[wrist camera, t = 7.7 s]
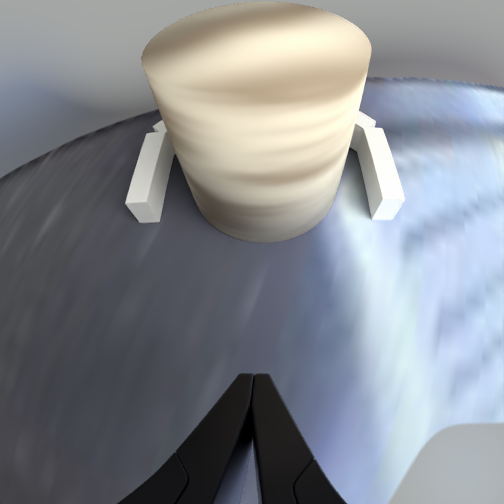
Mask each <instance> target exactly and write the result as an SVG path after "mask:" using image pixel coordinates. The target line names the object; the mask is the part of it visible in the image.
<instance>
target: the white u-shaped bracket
mask: <svg viewBox="0 0 504 504" xmlns="http://www.w3.org/2000/svg"><path fill="white" fill-rule="evenodd" d="M375 123H376V121H375V120H373V119H371V118H370V117H368V116H367V115H365V114H363V113H362V112H360V111H358V115H357V119H356V123H355V127H354V131H353V135H352V138H351V142H350V146H349V147H351V148H352V149H354V150H355V151H357V154H358V158H359V162H360V166H361V171H362V175H363V179H364V184H365V188H366V193H367V198H368V203H369V208H370V213H371V218H372V220H393V218H394V217H395V215H396V213H397V212H398V210H399V209H400V207H401V206H402V204H403V202H404V201H405V197H404V194H403V190H402V187H401V183H400V180H399V176H398V173H397V170H396V167H395V164H394V160H393V157H392V154H391V151H390V149H389V146H388V143H387V140H386V137H385V134H384V132H383V129H382V128H374V127H375ZM153 128H154V131H155V132H153V133H147V134H146V137H145V140H144V143H143V146H142V149H141V152H140V155H139V158H138V161H137V164H136V168H135V171H134V174H133V178H132V181H131V185H130V188H129V192H128V195H127V199H126V203H125V204H126V205H127V206H128V208H129V209H130V210H131V212H132V213H133V214H134V216H135V217H136V218H137V220H138V221H139V222H140V223H150V222H160V218H161V213H162V208H163V203H164V198H165V193H166V188H167V183H168V179H169V174H170V170H171V166H172V161H173V157H174V155H175V154H176V152H175V150H174V147H173V145H172V142H171V140H170V137H169V135H168V132H167V129H166V127H165V124H164V122H163V120H161V121H160V122H158V123H157V124H155V125H154V126H153Z"/></svg>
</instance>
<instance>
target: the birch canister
mask: <svg viewBox="0 0 504 504" xmlns="http://www.w3.org/2000/svg"><path fill="white" fill-rule="evenodd" d="M370 56H371V44H370V42H369V40H368V38H367V36H366V35H365V34H364V33H363V32H362V31H361V30H360V29H359V28H358V27H357V26H355V25H354V24H352V23H350V22H349V21H347V20H346V19H344V18H342V17H340V16H337V15H335V14H333V13H330V12H327V11H325V10H321V9H318V8H314V7H310V6H305V5H300V4H293V3H285V2H244V3H236V4H230V5H224V6H219V7H215V8H211V9H208V10H204V11H201V12H198V13H195V14H192V15H189V16H187V17H185V18H183V19H180V20H179V21H177V22H175V23H173V24H171V25H169V26H168V27H166V28H165V29H163V30H162V31H160V32H159V33H158V34H157V35H156V36H154V37H153V38H152V39H151V40H150V42H149V43H148V44H147V45H146V47H145V49H144V51H143V54H142V57H141V59H142V66H143V68H144V71H145V74H146V77H147V79H148V82H149V85H150V87H151V90H152V93H153V95H154V98H155V101H156V103H157V106H158V109H159V111H160V114H161V116H162V119H163V122H164V124H165V127H166V129H167V132H168V135H169V137H170V140H171V142H172V145H173V147H174V150H175V152H176V155H177V157H178V160H179V162H180V165H181V167H182V170H183V172H184V175H185V177H186V180H187V182H188V185H189V187H190V189H191V192H192V194H193V197H194V199H195V202H196V204H197V206H198V208H199V210H200V212H201V213H202V215H203V216H204V218H205V219H206V220H207V221H208V222H209V223H210V224H211V225H212V226H214V227H215V228H216V229H217V230H219V231H221V232H222V233H224V234H226V235H228V236H231V237H233V238H236V239H239V240H243V241H248V242H254V243H273V242H280V241H285V240H289V239H292V238H295V237H297V236H300V235H302V234H304V233H306V232H307V231H309V230H311V229H312V228H314V227H315V226H316V225H317V224H318V223H320V222H321V221H322V220H323V218H324V217H325V216H326V215H327V213H328V212H329V210H330V209H331V207H332V205H333V202H334V200H335V196H336V193H337V189H338V186H339V182H340V179H341V175H342V172H343V168H344V165H345V161H346V157H347V154H348V150H349V146H350V142H351V138H352V135H353V131H354V127H355V123H356V119H357V115H358V110H359V106H360V102H361V98H362V93H363V89H364V84H365V80H366V75H367V70H368V66H369V61H370Z"/></svg>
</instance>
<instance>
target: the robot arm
mask: <svg viewBox="0 0 504 504" xmlns="http://www.w3.org/2000/svg"><path fill="white" fill-rule="evenodd" d="M252 443H253V448H254V459H255V470H256V481H257V491H258V501H259V504H347V503H346V502H345V501H344V499H343V498H342V497H341V496H340V494H339V493H338V492H337V491H336V489H335V488H334V487H333V485H332V484H331V483H330V481H329V480H328V478H327V476H326V475H325V473H324V472H323V470H322V469H321V467H320V465H319V463H318V462H317V460H316V459H315V457H314V455H313V453H312V451H311V450H310V448H309V446H308V444H307V443H306V441H305V439H304V437H303V435H302V434H301V432H300V430H299V428H298V426H297V425H296V423H295V421H294V419H293V417H292V415H291V414H290V412H289V410H288V408H287V406H286V404H285V403H284V401H283V399H282V397H281V395H280V393H279V391H278V389H277V388H276V386H275V384H274V382H273V380H272V378H271V376H270V375H269V374H255V376H254V374H252V373H241V374H239V375H238V376H237V378H236V379H235V380H234V381H233V383H232V384H231V385H230V386H229V388H228V389H227V390H226V391H225V393H224V394H223V395H222V396H221V398H220V399H219V400H218V401H217V403H216V404H215V405H214V406H213V408H212V409H211V410H210V411H209V412H208V414H207V415H206V416H205V417H204V418H203V420H202V421H201V422H200V423H199V424H198V426H197V427H196V428H195V429H194V430H193V432H192V433H191V434H190V435H189V436H188V437H187V439H186V440H185V441H184V442H183V443H182V444H181V446H180V447H179V448H178V449H177V450H176V453H173V454H172V456H171V457H170V458H169V459H168V460H167V461H166V462H165V463H164V464H163V465H162V466H161V467H160V468H159V470H158V471H157V472H156V473H155V474H153V475H152V476H151V477H150V478H149V479H148V480H147V481H145V482H144V483H143V484H142V485H141V486H139V487H138V488H137V489H136V490H134V491H133V492H132V493H131V494H129V495H128V496H127V497H125V498H124V499H123V500H121V501H120V502H119V503H117V504H240V500H241V495H242V491H243V486H244V482H245V477H246V473H247V468H248V463H249V458H250V454H251V449H252Z"/></svg>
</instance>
